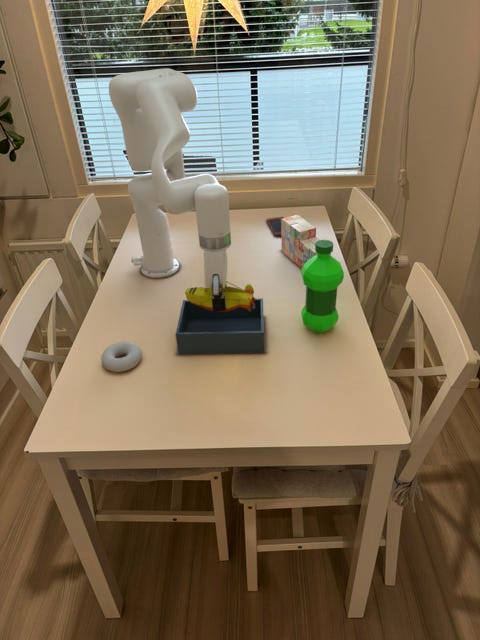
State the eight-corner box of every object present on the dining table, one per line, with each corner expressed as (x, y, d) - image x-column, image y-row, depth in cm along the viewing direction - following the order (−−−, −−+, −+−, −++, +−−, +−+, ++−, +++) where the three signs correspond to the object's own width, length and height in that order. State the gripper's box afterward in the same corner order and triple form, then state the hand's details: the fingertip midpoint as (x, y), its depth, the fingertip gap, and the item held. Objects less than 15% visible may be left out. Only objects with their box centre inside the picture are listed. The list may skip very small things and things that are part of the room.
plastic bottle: (336, 340, 124) (344, 255, 109) (296, 335, 127) (298, 251, 112) (340, 318, 132) (349, 236, 117) (303, 313, 134) (306, 232, 120)
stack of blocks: (329, 274, 151) (332, 239, 144) (312, 279, 149) (314, 243, 142) (296, 246, 167) (297, 214, 160) (280, 250, 165) (281, 217, 158)
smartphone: (275, 234, 173) (266, 218, 185) (275, 237, 174) (266, 220, 186) (294, 232, 174) (284, 216, 186) (293, 234, 175) (283, 218, 187)
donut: (94, 366, 120) (123, 379, 115) (91, 356, 118) (120, 368, 113) (122, 345, 127) (150, 356, 122) (119, 334, 125) (148, 345, 120)
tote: (178, 354, 122) (175, 334, 118) (185, 319, 135) (183, 300, 131) (264, 353, 121) (263, 332, 117) (263, 317, 134) (263, 298, 130)
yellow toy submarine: (253, 318, 119) (251, 284, 113) (183, 313, 122) (179, 279, 116) (257, 304, 124) (256, 271, 118) (190, 299, 127) (186, 266, 121)
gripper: (202, 223, 118) (208, 285, 129) (195, 256, 104) (202, 322, 115) (232, 222, 118) (235, 284, 128) (229, 255, 104) (233, 322, 114)
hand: (220, 302), depth 122 cm, fingers closed on yellow toy submarine, 6 cm apart
